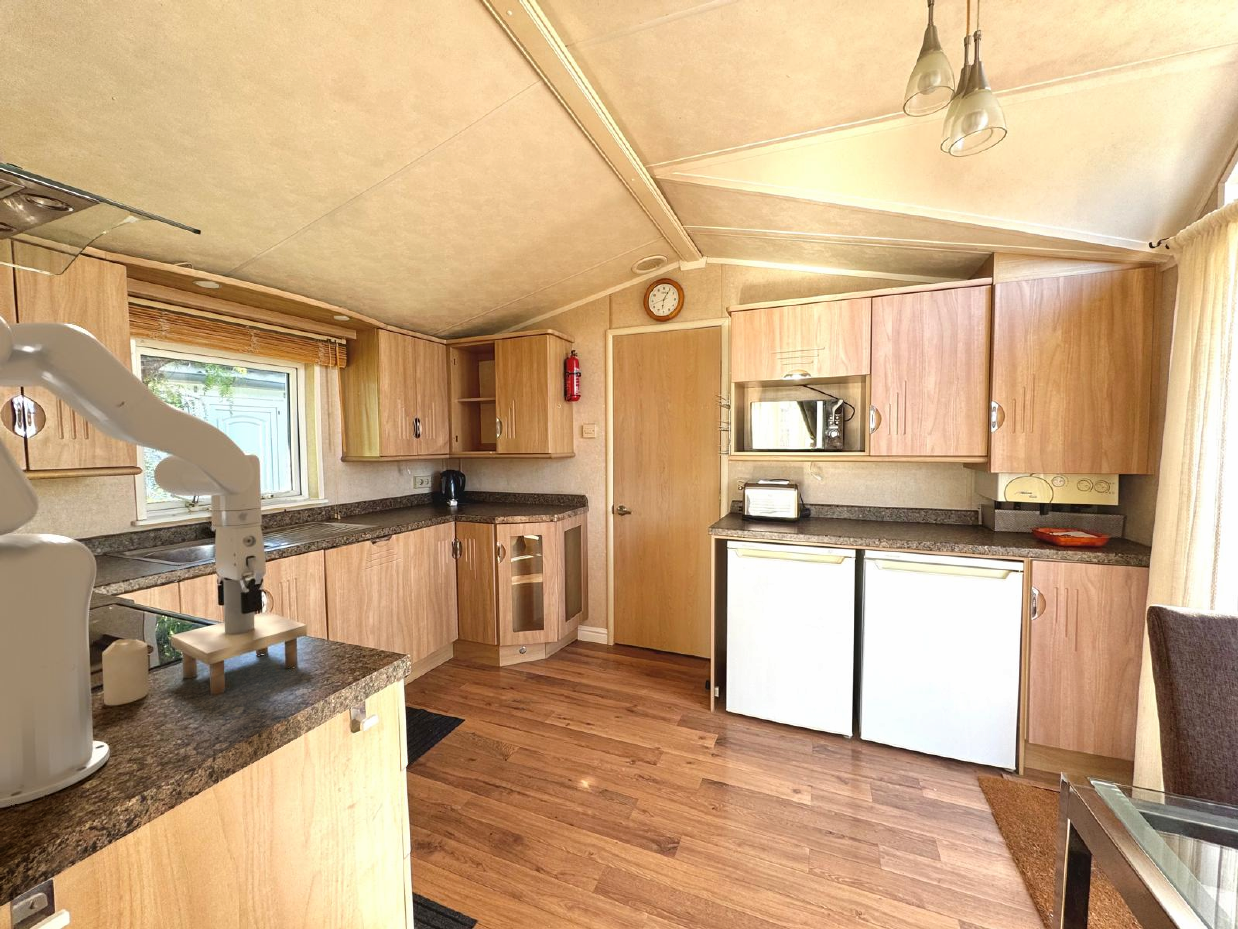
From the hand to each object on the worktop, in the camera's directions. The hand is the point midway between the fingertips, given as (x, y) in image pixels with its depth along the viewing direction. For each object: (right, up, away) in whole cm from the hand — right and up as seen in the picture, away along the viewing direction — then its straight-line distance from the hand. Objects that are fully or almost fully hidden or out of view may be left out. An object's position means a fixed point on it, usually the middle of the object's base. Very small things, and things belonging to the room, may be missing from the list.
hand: (239, 607), depth 96 cm
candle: (-12, -13, -10) cm, 20 cm away
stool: (0, -12, 0) cm, 12 cm away
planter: (0, -5, 0) cm, 5 cm away
